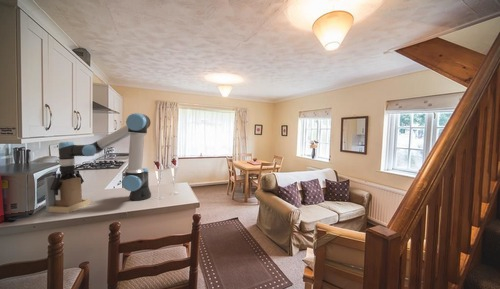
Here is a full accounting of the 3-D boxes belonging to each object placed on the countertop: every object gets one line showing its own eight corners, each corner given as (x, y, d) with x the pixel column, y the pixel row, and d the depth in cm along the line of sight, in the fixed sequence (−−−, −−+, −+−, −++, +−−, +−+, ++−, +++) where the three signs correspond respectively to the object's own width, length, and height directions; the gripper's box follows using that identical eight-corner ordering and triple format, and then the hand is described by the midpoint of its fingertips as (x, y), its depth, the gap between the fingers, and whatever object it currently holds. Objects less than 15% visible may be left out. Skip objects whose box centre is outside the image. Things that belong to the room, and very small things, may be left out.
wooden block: (67, 211, 130) (65, 180, 128) (55, 209, 132) (53, 179, 130) (83, 205, 140) (81, 177, 138) (71, 204, 142) (69, 176, 140)
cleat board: (90, 203, 143) (89, 173, 141) (67, 213, 127) (65, 178, 125) (71, 202, 145) (69, 172, 143) (46, 211, 129) (44, 177, 127)
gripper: (80, 161, 146) (81, 190, 148) (40, 168, 122) (42, 202, 123) (89, 162, 145) (90, 191, 147) (51, 169, 121) (53, 203, 122)
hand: (68, 196), depth 135 cm, fingers open, 13 cm apart
